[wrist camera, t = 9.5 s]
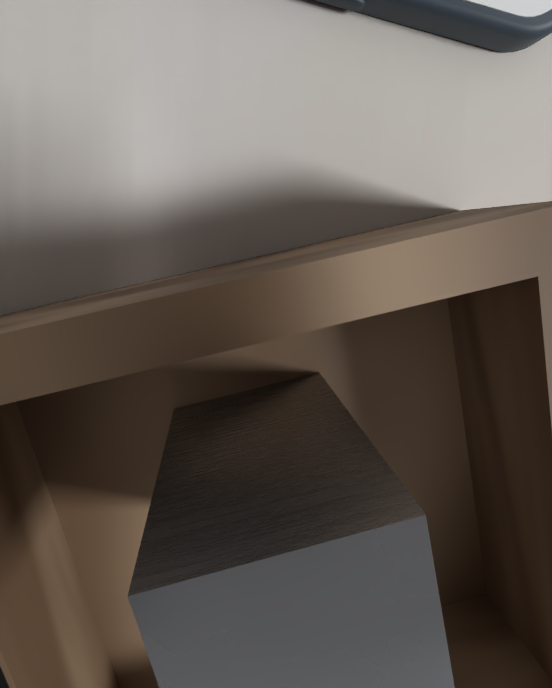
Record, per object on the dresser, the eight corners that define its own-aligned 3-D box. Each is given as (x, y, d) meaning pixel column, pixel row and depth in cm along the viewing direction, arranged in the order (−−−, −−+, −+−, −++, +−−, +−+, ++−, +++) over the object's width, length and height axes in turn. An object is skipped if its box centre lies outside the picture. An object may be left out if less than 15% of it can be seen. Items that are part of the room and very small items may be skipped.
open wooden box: (103, 708, 16) (54, 914, 11) (-43, 325, 13) (-199, 379, 8) (508, 593, 17) (626, 737, 12) (461, 210, 14) (594, 196, 9)
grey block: (232, 608, 15) (245, 934, 8) (173, 408, 13) (127, 595, 6) (361, 573, 15) (483, 858, 8) (318, 372, 13) (426, 514, 7)
